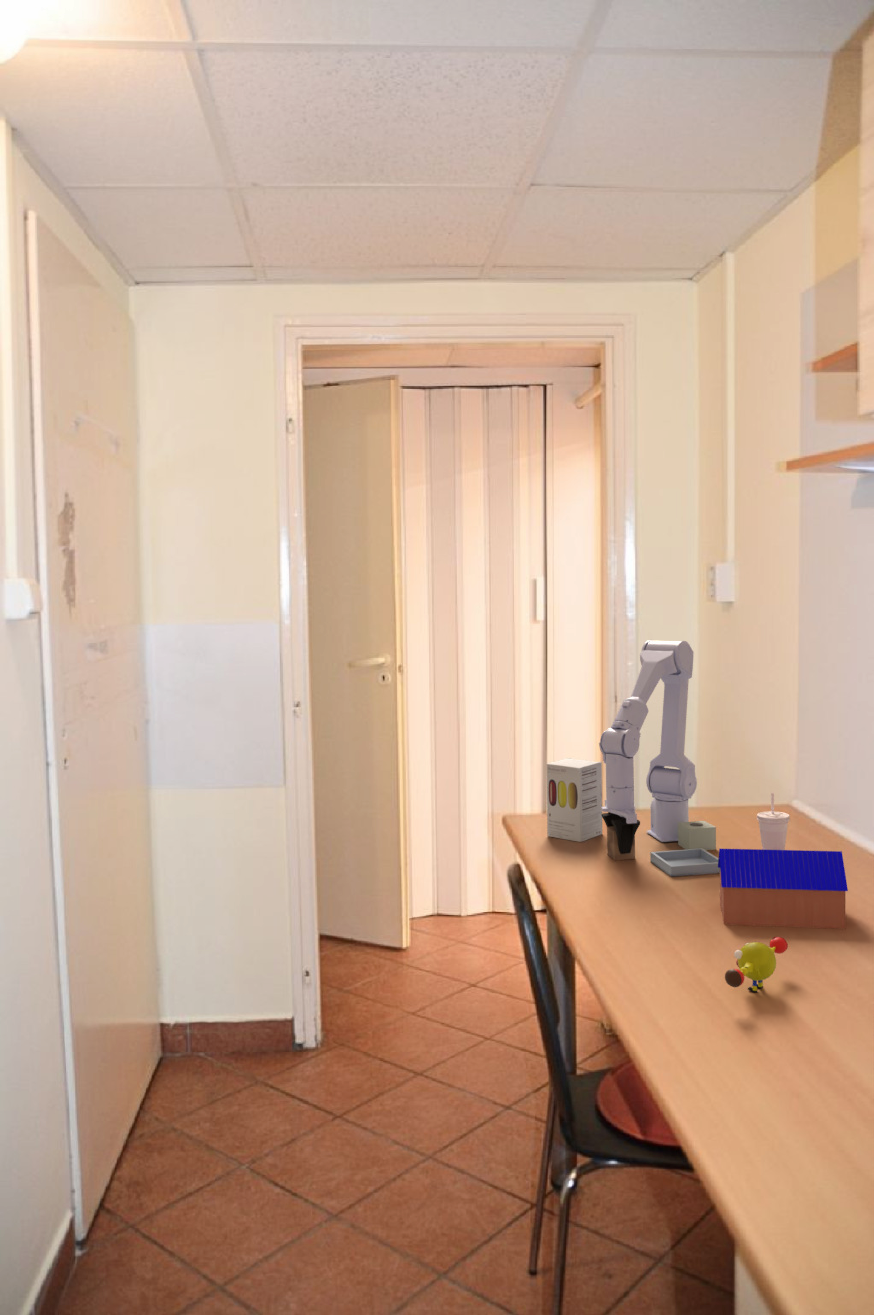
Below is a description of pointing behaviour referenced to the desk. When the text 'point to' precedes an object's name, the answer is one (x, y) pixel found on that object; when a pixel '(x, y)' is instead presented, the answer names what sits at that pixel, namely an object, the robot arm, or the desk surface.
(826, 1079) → the desk surface
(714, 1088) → the desk surface
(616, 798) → the robot arm
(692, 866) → the tray
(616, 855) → the block
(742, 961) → the toy figure
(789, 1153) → the desk surface
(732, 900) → the house
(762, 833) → the smoothie
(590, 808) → the supplement box
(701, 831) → the oversize block
